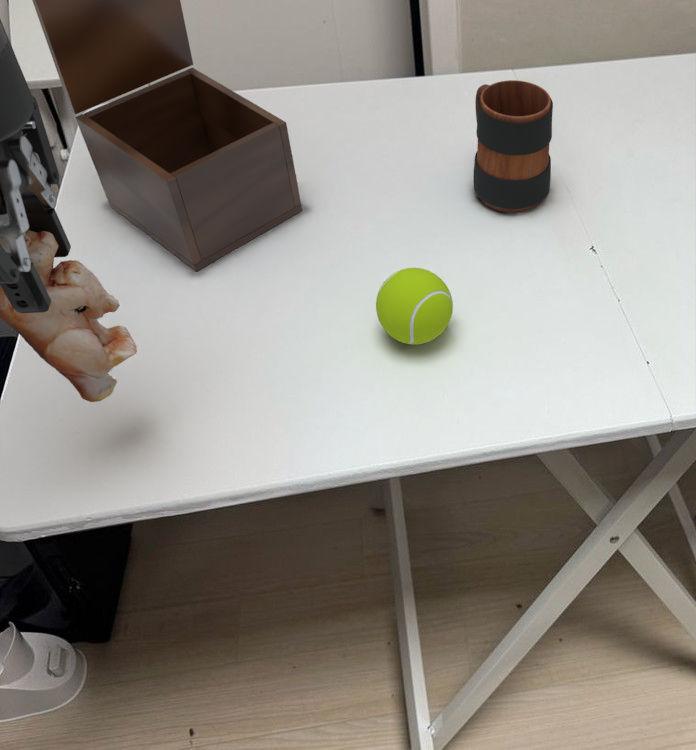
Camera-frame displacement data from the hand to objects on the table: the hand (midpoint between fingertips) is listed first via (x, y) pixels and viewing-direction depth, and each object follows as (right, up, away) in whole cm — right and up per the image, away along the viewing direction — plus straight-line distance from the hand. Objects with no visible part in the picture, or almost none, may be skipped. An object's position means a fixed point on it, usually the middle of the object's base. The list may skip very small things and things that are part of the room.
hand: (45, 280), depth 57 cm
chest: (-1, +12, +34) cm, 36 cm away
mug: (+32, +15, +38) cm, 52 cm away
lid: (-5, +28, +22) cm, 36 cm away
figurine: (0, -7, +8) cm, 11 cm away
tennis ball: (+23, -3, +22) cm, 32 cm away
